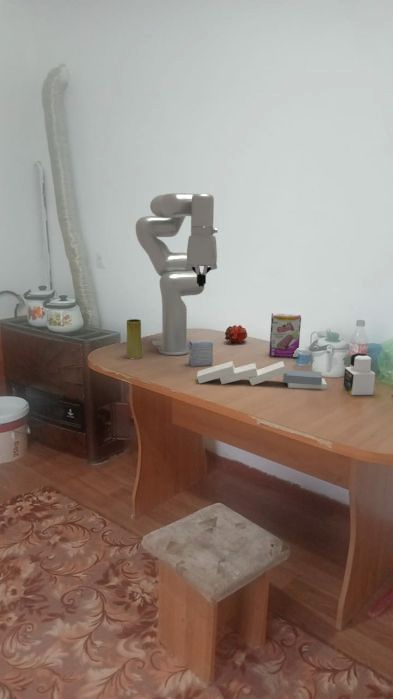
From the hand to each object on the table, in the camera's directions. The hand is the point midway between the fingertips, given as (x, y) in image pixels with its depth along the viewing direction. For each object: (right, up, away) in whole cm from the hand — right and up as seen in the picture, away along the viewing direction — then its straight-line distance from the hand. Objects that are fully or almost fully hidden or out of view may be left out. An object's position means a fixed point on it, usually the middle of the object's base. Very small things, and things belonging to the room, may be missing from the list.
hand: (201, 285), depth 180 cm
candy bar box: (+32, -25, +22) cm, 46 cm away
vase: (-25, -25, +18) cm, 40 cm away
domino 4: (+27, -31, -12) cm, 42 cm away
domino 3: (+16, -32, -10) cm, 37 cm away
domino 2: (+6, -32, -9) cm, 33 cm away
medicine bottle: (+49, -36, -17) cm, 63 cm away
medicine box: (0, -28, +10) cm, 29 cm away
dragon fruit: (+15, -20, +41) cm, 48 cm away
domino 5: (+28, -33, -11) cm, 45 cm away
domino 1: (-1, -31, -9) cm, 32 cm away
